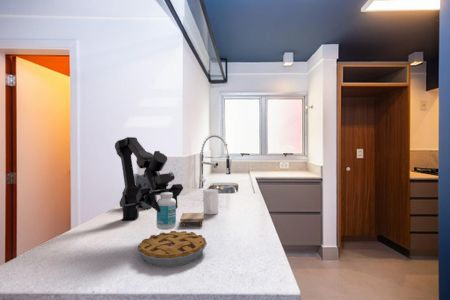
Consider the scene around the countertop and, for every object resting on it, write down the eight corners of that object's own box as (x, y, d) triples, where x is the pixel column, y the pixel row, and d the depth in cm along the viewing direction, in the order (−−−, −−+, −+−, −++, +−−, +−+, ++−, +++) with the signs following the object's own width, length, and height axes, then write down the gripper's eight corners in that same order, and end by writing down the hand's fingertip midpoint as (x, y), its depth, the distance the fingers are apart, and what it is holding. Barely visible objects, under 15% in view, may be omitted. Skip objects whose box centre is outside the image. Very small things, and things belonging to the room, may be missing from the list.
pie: (177, 237, 101) (177, 224, 101) (219, 251, 87) (219, 237, 87) (124, 256, 84) (124, 240, 84) (167, 277, 70) (167, 259, 70)
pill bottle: (171, 231, 98) (171, 195, 97) (153, 229, 99) (153, 194, 99) (178, 225, 105) (178, 191, 105) (161, 223, 106) (161, 191, 106)
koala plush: (122, 208, 149) (121, 174, 149) (139, 201, 166) (138, 171, 166) (149, 209, 145) (149, 174, 145) (163, 202, 163) (163, 171, 162)
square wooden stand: (180, 227, 113) (180, 219, 113) (182, 220, 123) (182, 213, 123) (203, 226, 114) (203, 218, 114) (203, 220, 124) (203, 212, 124)
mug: (201, 216, 130) (201, 192, 130) (203, 210, 142) (203, 188, 142) (217, 216, 130) (217, 192, 130) (218, 210, 142) (218, 188, 142)
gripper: (139, 167, 98) (153, 201, 90) (180, 164, 111) (196, 194, 103) (130, 185, 104) (143, 218, 96) (171, 181, 117) (185, 210, 109)
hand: (168, 209), depth 101 cm, fingers closed on pill bottle, 7 cm apart
